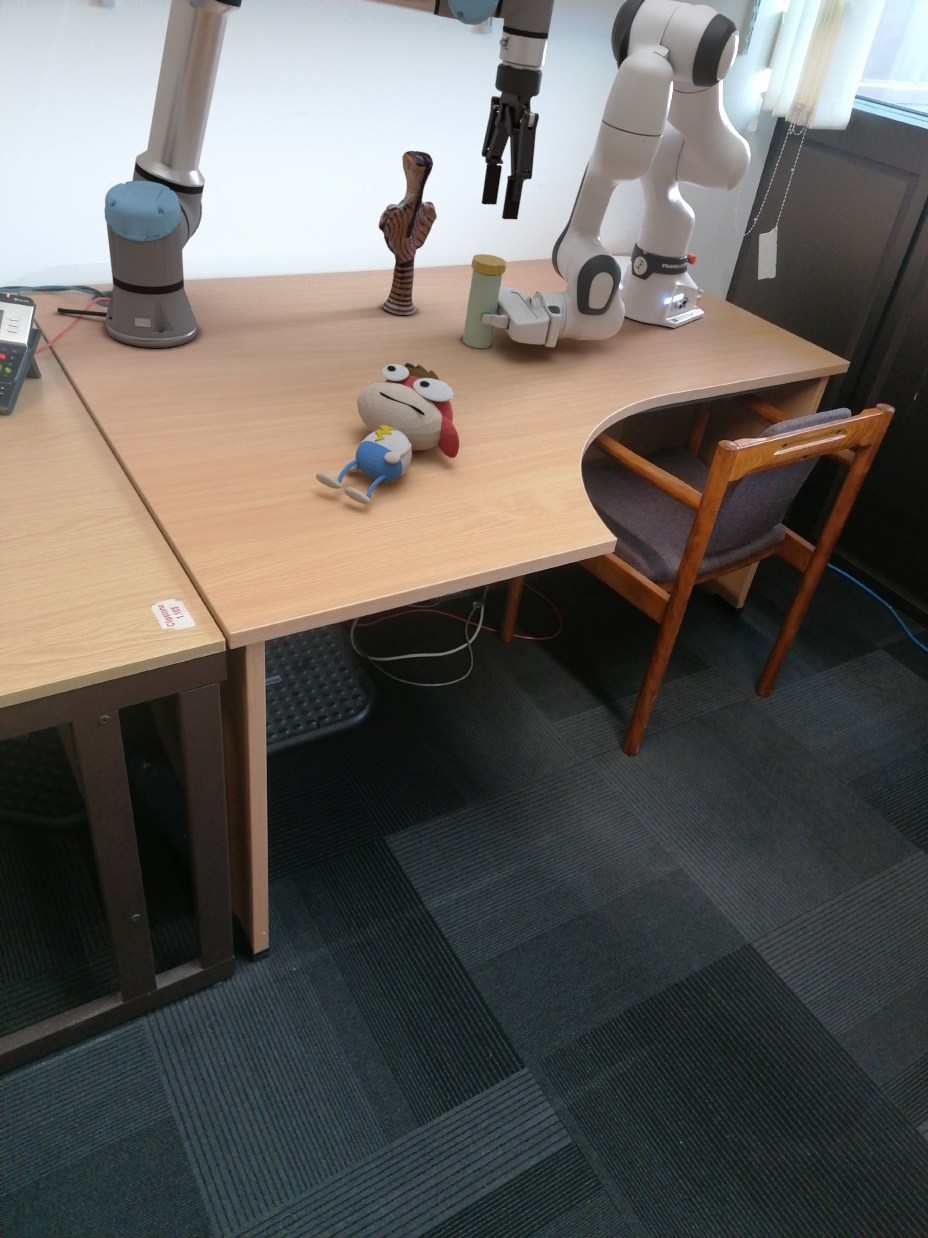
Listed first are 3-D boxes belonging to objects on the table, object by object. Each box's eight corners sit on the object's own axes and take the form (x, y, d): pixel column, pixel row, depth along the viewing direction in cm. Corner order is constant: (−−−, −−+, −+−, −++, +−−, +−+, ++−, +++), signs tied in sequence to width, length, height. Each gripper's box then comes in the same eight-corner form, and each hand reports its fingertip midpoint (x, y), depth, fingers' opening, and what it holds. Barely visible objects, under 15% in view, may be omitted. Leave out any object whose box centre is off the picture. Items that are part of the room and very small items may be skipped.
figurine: (408, 296, 190) (424, 141, 171) (437, 307, 187) (456, 151, 168) (363, 310, 180) (375, 147, 161) (392, 322, 177) (407, 158, 158)
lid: (465, 263, 167) (466, 254, 166) (494, 262, 170) (495, 253, 169) (481, 275, 163) (483, 265, 162) (510, 274, 166) (512, 265, 165)
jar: (457, 337, 176) (469, 257, 167) (481, 335, 179) (494, 256, 169) (471, 348, 173) (483, 267, 163) (495, 347, 175) (509, 266, 166)
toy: (278, 428, 121) (396, 343, 140) (277, 485, 128) (389, 398, 148) (391, 486, 117) (497, 391, 136) (384, 542, 124) (485, 444, 143)
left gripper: (474, 51, 152) (457, 193, 166) (528, 75, 138) (505, 228, 152) (513, 55, 155) (493, 194, 169) (570, 79, 141) (543, 229, 155)
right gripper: (531, 280, 181) (466, 275, 177) (563, 318, 166) (493, 314, 162) (525, 310, 185) (462, 307, 181) (556, 351, 170) (488, 348, 166)
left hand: (499, 210), depth 160 cm, fingers open, 8 cm apart
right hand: (477, 311), depth 172 cm, fingers closed on jar, 5 cm apart
